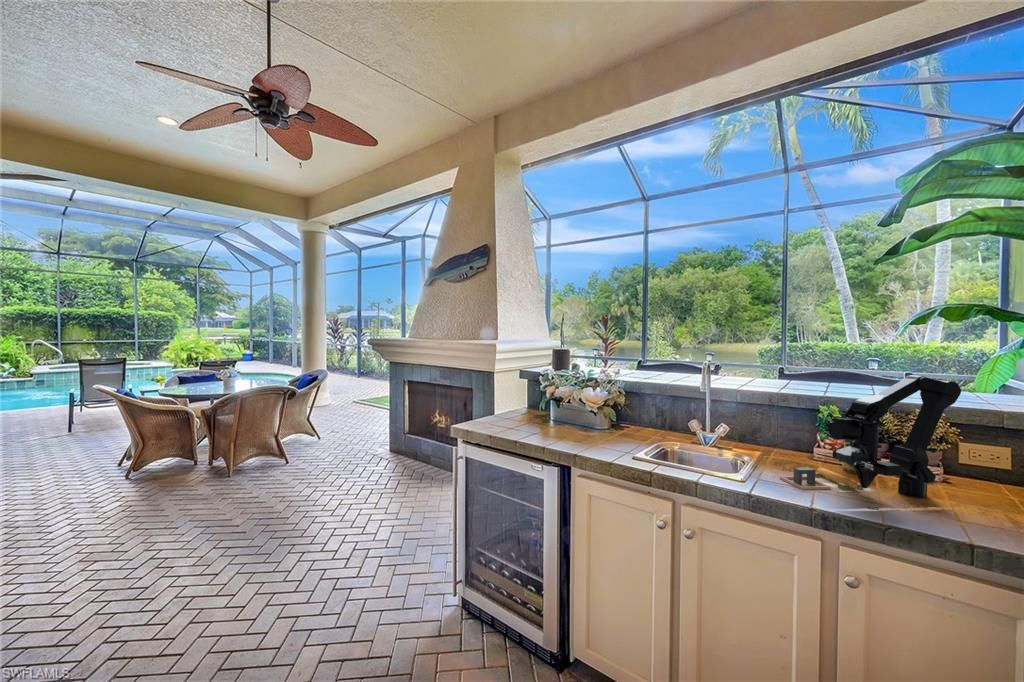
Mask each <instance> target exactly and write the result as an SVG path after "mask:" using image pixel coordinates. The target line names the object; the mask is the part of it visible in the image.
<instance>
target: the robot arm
mask: <svg viewBox="0 0 1024 682" xmlns="http://www.w3.org/2000/svg"><path fill="white" fill-rule="evenodd" d="M919 391H920V393H919V395H920V399H921V402H922V404H921V407H920V409H919V411H918V413H917V416H916V418H915V420H914V423H913V425H912V426H911V429H910V431H909V434H908V436H907V437H906V440H905V442H904V443H903V444H901V445H900V446H899V445H894V446H893V447H892V451H891V452H890V454H889V455H888V457H889V461H887V462H883V461H882V457H881V456H880V457H879V456H878V455H879V452H878V451H879V450H878V449H882V444H879V428H881V427H882V428H883V427H884V428H885V427H886V423H884V422H883V421H881V419H882V418H883V417H884V416H886V415H887V414H888V413H889V411H890V408H891V407H892V406H894V405H896V404H898V403H899V402H901V401H903V400H905V399H907V398H908V397H910V396H912V395H914V394H915V393H917V392H919ZM961 393H962V389H961V387H960V385H959V384H958V383H957V382H956V381H952V380H942V379H935V378H934V379H933V378H930V377H926V376H924V375H915V374H910V375H907V376H905V377H904V378H903V379H902V380H900V381H898V382H896V383H895V384H893V385H891V386H889V387H888V388H885V389H883V390H882V391H880V392H878V393H876V394H874V395H869V396H863V397H861V398H858V399H855V400H853V402H852V403H851V405H850V407H849V408H848V410H847V411H846V412H845V413H844V415H843V416H842V418H840V417H834V418H833V421H832V422H830V424H829V425H828V427H827V430H828V434H829V436H830V437H831V438H832V439H833V440H836V441H837V440H838V441H840V440H841V441H842V440H843V441H845V440H854V441H851V442H850V446H849V447H845V448H844V447H843V448H834V449H833V451H832V458H834V459H837V460H838V462H842V463H843V462H845V463H846V464H848V465H850V466H851V467H852V468H854V469H855V471H856V473H855V474H856V475H857V478H858V480H859V483H860V484H861V486H862V488H869V486H870V485H872V483H873V481H874V479H876V477H877V476H879V474H880V475H883V476H887V477H888V476H890V477H891V476H894V477H895V476H897V477H898V476H899V477H898V478H899V479H898V482H897V483H898V486H897V493H898V494H900V495H901V496H902V495H903V496H905V497H910V498H911V497H912V498H919V499H925V498H926V497H927V496H928V484H931V483H934V482H935V479H936V478H937V476H936V474H935V473H934V472H933V471H932V470H931V469H930V468H929V467H928V465H929V462H930V459H929V457H928V453H927V449H928V446H929V445H930V442H931V441H932V438H933V436H934V434H935V430H936V429H937V427H938V424H939V422H940V420H941V418H942V415H943V414H944V412H945V411H944V410H945V409H947V408H949V407H951V406H952V405H954V404H955V403H956V401H957V400H958V399H959V397H960V396H961ZM881 461H882V462H881Z"/></svg>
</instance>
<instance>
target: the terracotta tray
mask: <svg viewBox="0 0 1024 682" xmlns="http://www.w3.org/2000/svg"><path fill="white" fill-rule="evenodd" d="M779 480H782V481H784V482H786V483H788V485H789V484H790V485H792V486H794V487H795V488H798V489H800V490H802V491H803V490H804V491H805V490H807V491H809V490H810V491H811V490H813V491H814V490H832V488H831V487H830V486H828V485H826V484H823V483H821V482H819V481H817V480H815V485H799V484H797V483H795V482H794V475H789V476H788V475H785V476H783V475H781V476H779ZM802 480H807V476H803V475H802Z"/></svg>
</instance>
